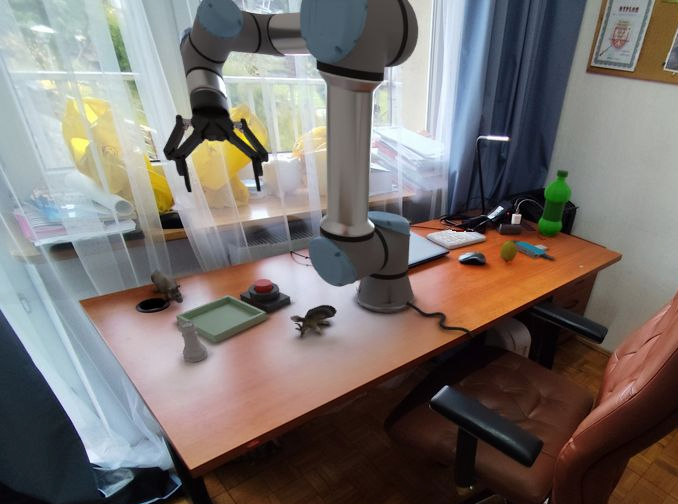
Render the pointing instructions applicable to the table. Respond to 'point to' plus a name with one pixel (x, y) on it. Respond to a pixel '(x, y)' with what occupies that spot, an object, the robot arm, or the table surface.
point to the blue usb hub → (532, 250)
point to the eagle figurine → (314, 318)
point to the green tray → (223, 318)
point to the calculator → (455, 238)
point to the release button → (263, 285)
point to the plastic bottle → (554, 204)
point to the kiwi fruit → (508, 251)
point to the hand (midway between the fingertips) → (224, 188)
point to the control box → (265, 299)
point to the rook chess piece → (192, 342)
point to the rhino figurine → (166, 285)
